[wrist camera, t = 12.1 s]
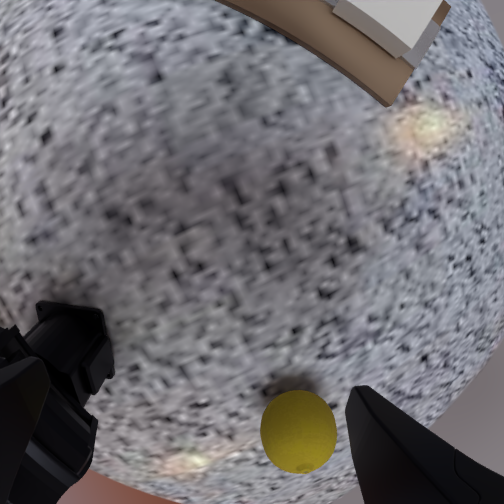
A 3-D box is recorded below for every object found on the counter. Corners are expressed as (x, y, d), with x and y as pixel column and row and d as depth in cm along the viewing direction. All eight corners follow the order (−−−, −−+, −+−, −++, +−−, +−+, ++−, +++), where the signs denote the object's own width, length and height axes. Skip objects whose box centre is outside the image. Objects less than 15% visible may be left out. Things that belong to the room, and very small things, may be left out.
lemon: (249, 410, 24) (251, 487, 16) (272, 363, 23) (283, 444, 15) (308, 420, 25) (323, 492, 17) (336, 377, 23) (363, 450, 15)
